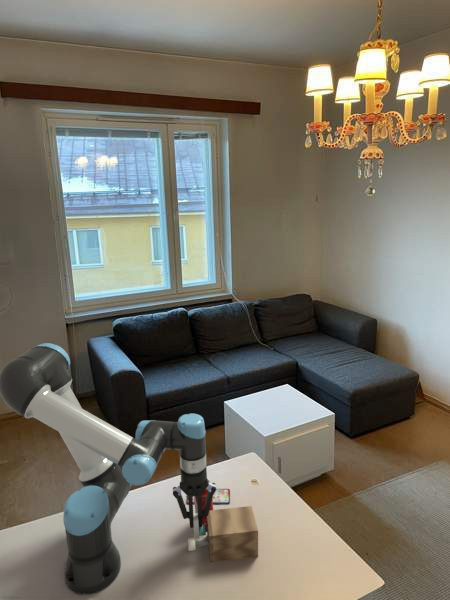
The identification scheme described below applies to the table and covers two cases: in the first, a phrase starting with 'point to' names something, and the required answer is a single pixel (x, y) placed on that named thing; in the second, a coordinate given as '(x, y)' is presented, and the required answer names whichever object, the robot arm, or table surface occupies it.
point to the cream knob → (196, 543)
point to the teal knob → (203, 530)
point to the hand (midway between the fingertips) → (196, 535)
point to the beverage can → (203, 496)
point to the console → (232, 534)
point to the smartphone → (218, 497)
